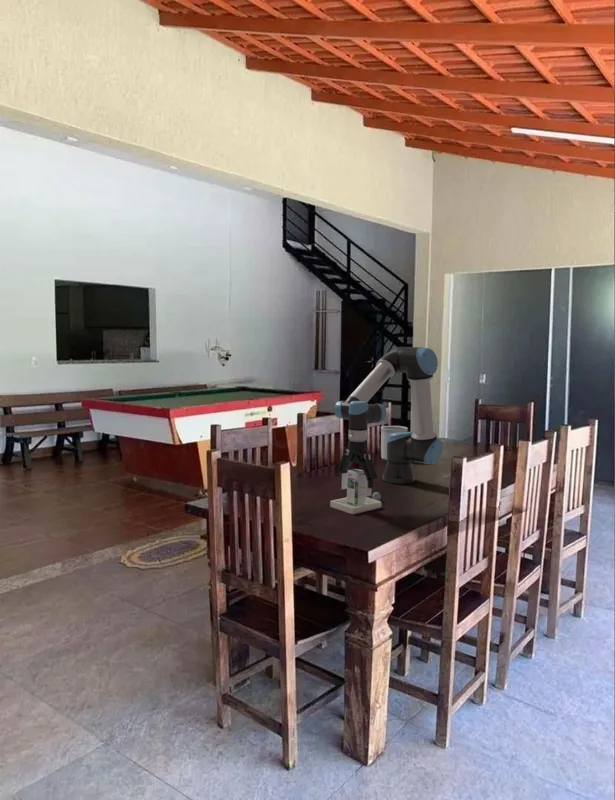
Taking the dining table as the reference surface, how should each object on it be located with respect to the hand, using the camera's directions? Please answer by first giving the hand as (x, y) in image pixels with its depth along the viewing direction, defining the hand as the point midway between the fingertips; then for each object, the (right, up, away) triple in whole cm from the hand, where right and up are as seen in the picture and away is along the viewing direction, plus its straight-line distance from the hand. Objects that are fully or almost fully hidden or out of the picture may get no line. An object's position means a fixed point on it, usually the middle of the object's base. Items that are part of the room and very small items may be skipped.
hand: (356, 492), depth 251 cm
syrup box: (0, -6, +1) cm, 6 cm away
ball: (+9, -3, +11) cm, 15 cm away
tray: (0, -6, +1) cm, 6 cm away
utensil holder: (+29, +4, +100) cm, 104 cm away
